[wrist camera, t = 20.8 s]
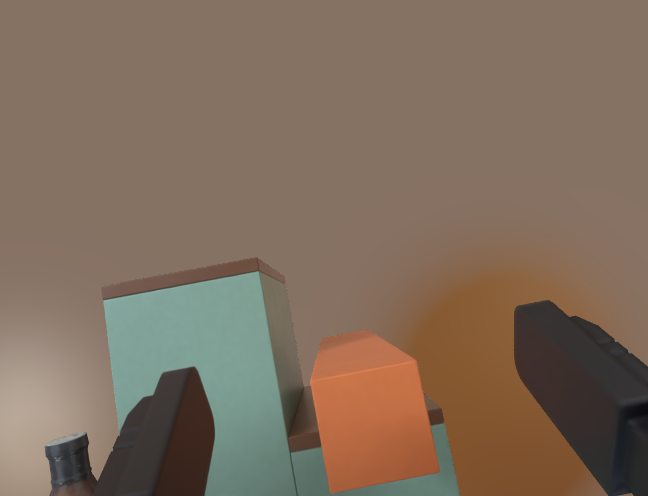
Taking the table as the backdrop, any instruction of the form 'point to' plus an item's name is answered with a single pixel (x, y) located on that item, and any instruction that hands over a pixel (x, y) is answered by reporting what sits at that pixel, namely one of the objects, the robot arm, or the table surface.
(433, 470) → the box
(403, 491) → the stand
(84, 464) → the sauce bottle
